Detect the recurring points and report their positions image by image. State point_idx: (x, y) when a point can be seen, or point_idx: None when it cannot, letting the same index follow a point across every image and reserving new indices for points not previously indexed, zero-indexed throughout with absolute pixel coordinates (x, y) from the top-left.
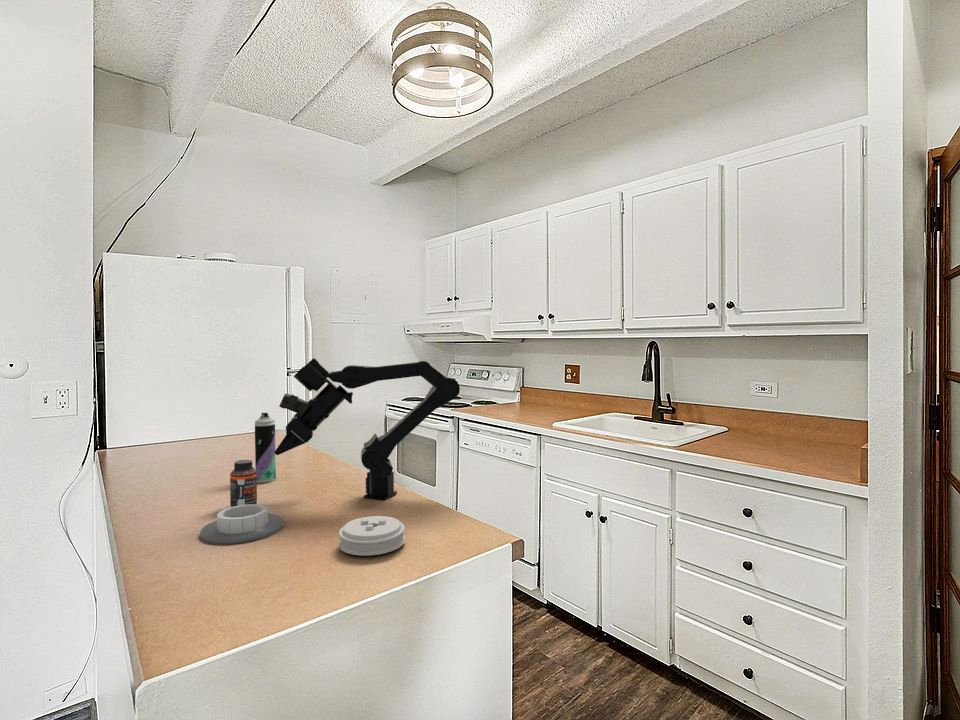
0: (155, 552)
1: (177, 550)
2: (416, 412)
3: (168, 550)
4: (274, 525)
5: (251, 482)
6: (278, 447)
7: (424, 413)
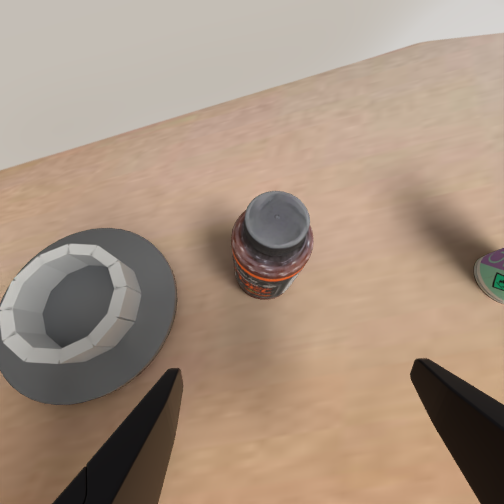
0: (47, 188)
1: (37, 216)
2: None
3: (45, 203)
4: (43, 385)
5: (244, 275)
6: (136, 409)
7: None
